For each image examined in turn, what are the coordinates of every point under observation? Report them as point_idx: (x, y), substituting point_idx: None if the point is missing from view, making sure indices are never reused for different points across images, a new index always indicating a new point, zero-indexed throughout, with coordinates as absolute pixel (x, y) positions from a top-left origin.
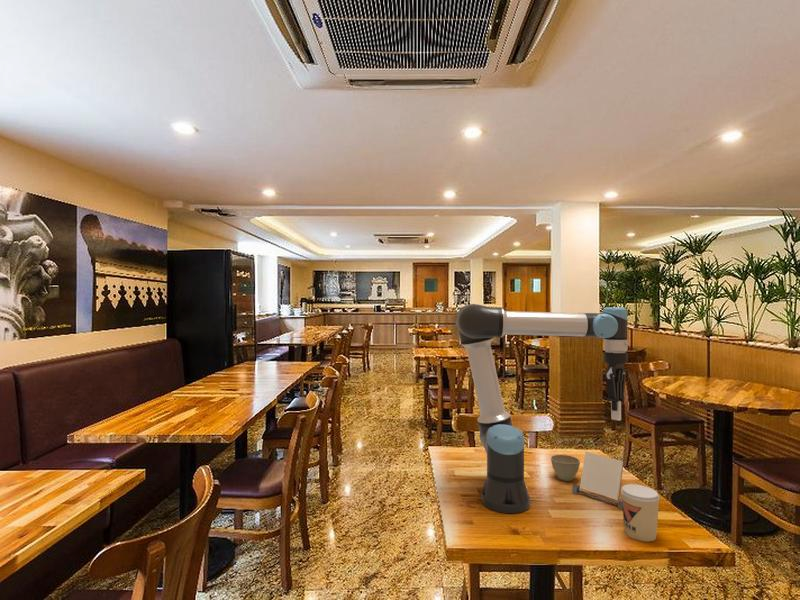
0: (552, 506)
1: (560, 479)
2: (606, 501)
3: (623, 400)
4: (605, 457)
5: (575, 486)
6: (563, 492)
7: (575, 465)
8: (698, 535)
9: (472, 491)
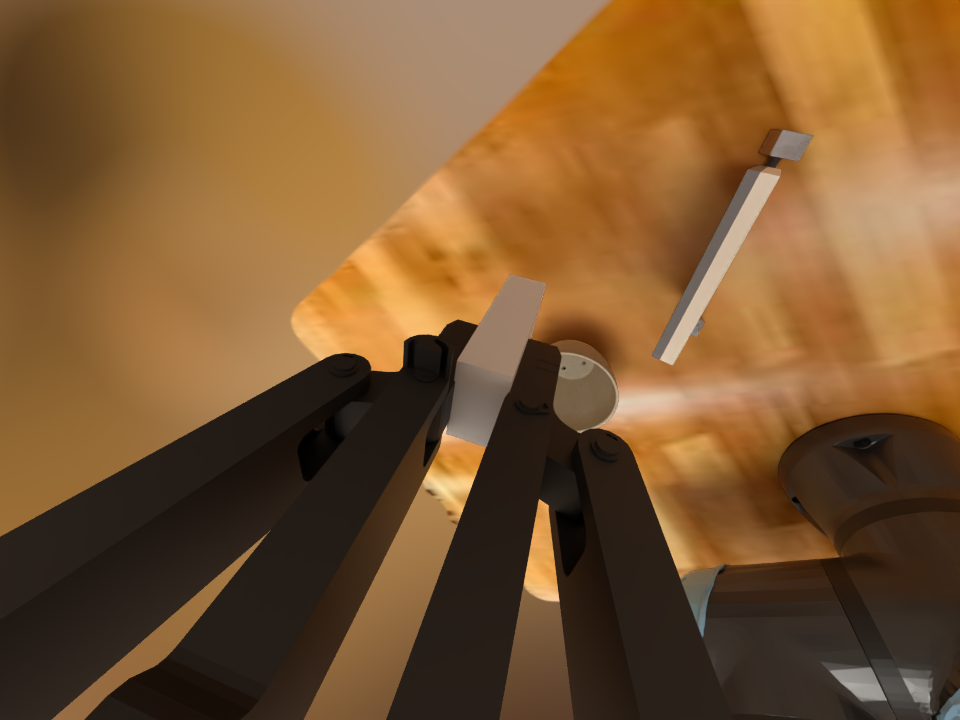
0: (848, 359)
1: (591, 369)
2: None
3: (434, 338)
4: (725, 271)
5: (697, 326)
6: (698, 347)
7: (596, 359)
8: None
9: (801, 533)
